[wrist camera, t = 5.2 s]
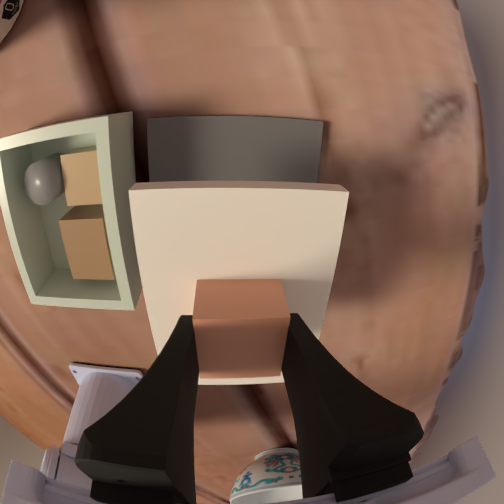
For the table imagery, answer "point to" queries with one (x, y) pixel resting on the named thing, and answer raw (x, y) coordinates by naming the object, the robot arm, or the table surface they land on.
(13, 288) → the table surface
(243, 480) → the chinaware
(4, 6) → the supplement can
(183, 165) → the mat
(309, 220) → the lid
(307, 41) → the table surface
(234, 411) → the table surface
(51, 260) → the storage box
